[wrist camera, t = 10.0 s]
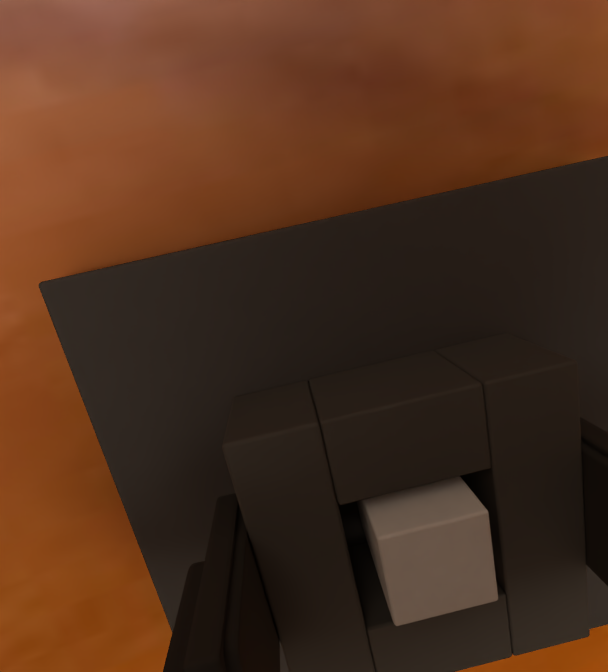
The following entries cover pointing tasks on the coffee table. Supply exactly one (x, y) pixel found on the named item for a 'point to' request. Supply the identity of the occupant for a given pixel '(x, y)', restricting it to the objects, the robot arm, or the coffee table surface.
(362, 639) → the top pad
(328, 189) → the coffee table surface
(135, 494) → the base pad
